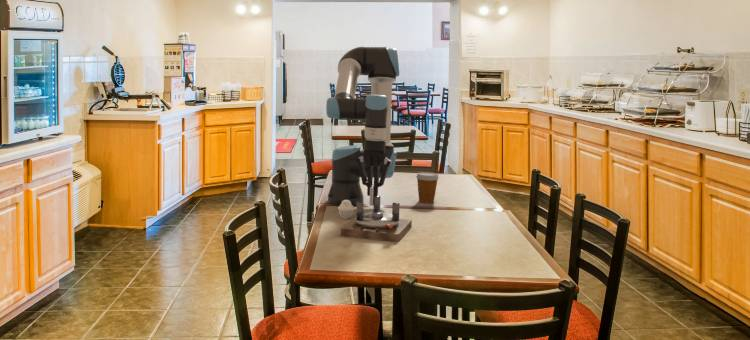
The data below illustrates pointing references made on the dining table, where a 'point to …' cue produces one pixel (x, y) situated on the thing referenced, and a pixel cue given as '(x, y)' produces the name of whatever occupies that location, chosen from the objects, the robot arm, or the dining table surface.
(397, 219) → the capstan
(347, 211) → the muffin
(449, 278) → the dining table surface
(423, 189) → the disposable coffee cup
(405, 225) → the stand
